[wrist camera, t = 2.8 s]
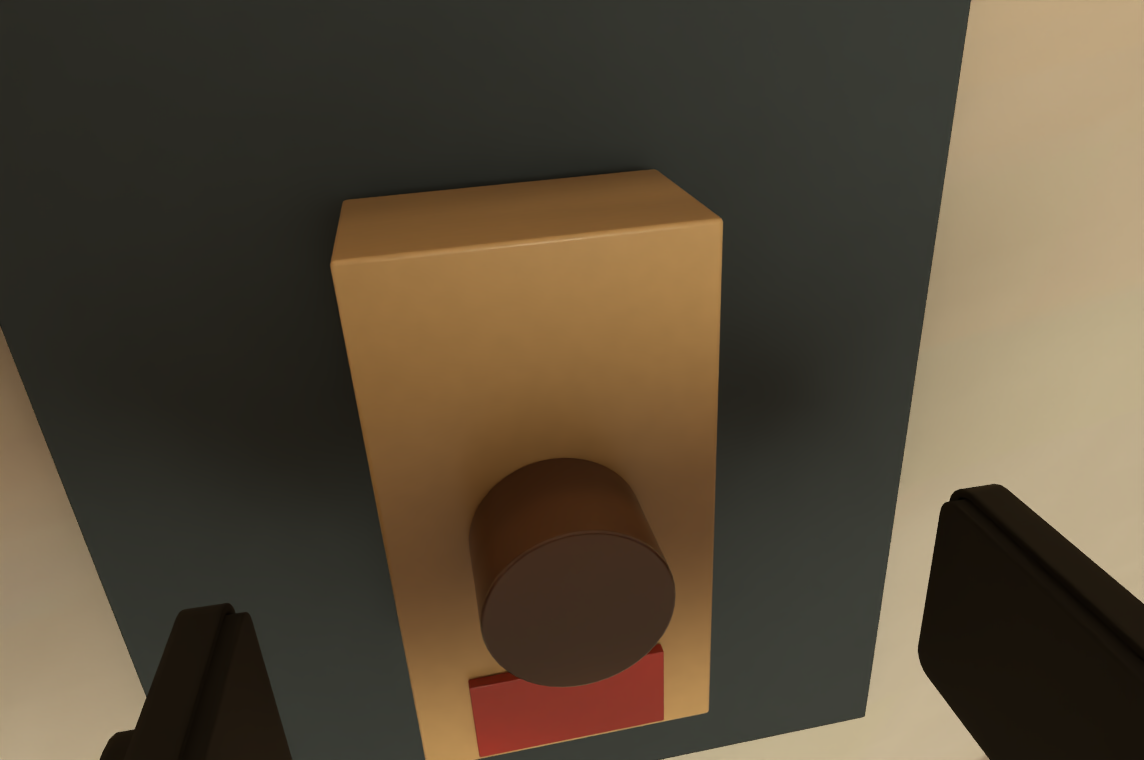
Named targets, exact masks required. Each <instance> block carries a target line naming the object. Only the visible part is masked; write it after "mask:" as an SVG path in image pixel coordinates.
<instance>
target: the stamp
mask: <svg viewBox="0 0 1144 760" xmlns="http://www.w3.org/2000/svg"><path fill="white" fill-rule="evenodd" d="M722 241H723V221H722V218H720V217H719V216H718V215H716V214H715V213H714V212H712V211H711V210H710V209H708V208H707V207H706V206H704V205H703V204H702V203H700V202H699V201H698V200H696V199H695V198H694V197H692V196H691V195H690V194H688V193H687V192H686V191H684V190H683V189H682V188H680V187H679V186H678V185H676V184H675V183H674V182H672V181H671V180H670V179H668V178H667V177H666V176H664V175H663V174H662V173H660V172H659V171H658V170H655V169H650V170H640V171H630V172H620V173H610V174H600V175H590V176H580V177H570V178H560V179H550V180H540V181H530V182H520V183H510V184H500V185H490V186H480V187H470V188H460V189H450V190H440V191H430V192H419V193H409V194H399V195H389V196H379V197H369V198H359V199H349V200H345V201H343V203H342V208H341V213H340V218H339V223H338V228H337V233H336V238H335V243H334V248H333V253H332V258H331V263H330V269H331V274H332V279H333V284H334V289H335V295H336V300H337V305H338V310H339V315H340V320H341V326H342V331H343V336H344V341H345V346H346V352H347V357H348V362H349V367H350V372H351V377H352V383H353V388H354V393H355V398H356V403H357V408H358V414H359V419H360V424H361V429H362V434H363V440H364V445H365V450H366V455H367V460H368V465H369V471H370V476H371V481H372V486H373V491H374V497H375V502H376V507H377V512H378V517H379V522H380V528H381V533H382V538H383V543H384V548H385V553H386V559H387V564H388V569H389V574H390V579H391V585H392V590H393V595H394V600H395V605H396V610H397V616H398V621H399V626H400V631H401V636H402V642H403V647H404V652H405V657H406V662H407V667H408V673H409V678H410V683H411V688H412V693H413V698H414V704H415V709H416V714H417V719H418V724H419V730H420V735H421V740H422V745H423V750H424V755H425V760H476V759H481V758H486V757H491V756H496V755H501V754H506V753H511V752H516V751H520V750H525V749H530V748H535V747H540V746H545V745H550V744H555V743H560V742H565V741H570V740H575V739H580V738H585V737H590V736H595V735H599V734H604V733H609V732H614V731H619V730H624V729H629V728H634V727H639V726H644V725H649V724H654V723H659V722H664V721H669V720H674V719H679V718H683V717H688V716H693V715H698V714H703V713H707V712H708V711H709V685H710V651H711V617H712V583H713V548H714V514H715V480H716V446H717V412H718V377H719V343H720V309H721V275H722Z"/></svg>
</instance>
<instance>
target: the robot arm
mask: <svg viewBox="0 0 1144 760" xmlns="http://www.w3.org/2000/svg"><path fill="white" fill-rule="evenodd" d="M918 654H919V659H920V663H921V666H922V668H923V670H924V672H925V674H926V675H927V677H928V678H929V679H930V681H931V682H932V683H933V685H934V686H935V687H936V689H937V690H938V691H939V693H940V694H941V695H942V697H943V698H944V699H945V701H946V702H947V703H948V705H949V706H950V707H951V709H952V710H953V711H954V713H955V714H956V715H957V717H958V718H959V719H960V721H961V722H962V723H963V725H964V726H965V727H966V729H967V730H968V731H969V733H970V734H971V735H972V737H973V738H974V739H975V741H976V742H977V743H978V745H979V746H980V747H981V749H982V750H983V751H984V753H985V754H986V755H987V757H988V758H989V759H990V760H1144V604H1143V603H1142V602H1141V601H1140V600H1138V599H1137V598H1136V597H1135V596H1134V595H1132V594H1131V593H1130V592H1129V591H1128V590H1127V589H1125V588H1124V587H1123V586H1122V585H1121V584H1119V583H1118V582H1117V581H1116V580H1115V579H1113V578H1112V577H1111V576H1110V575H1109V574H1107V573H1106V572H1105V571H1104V570H1103V569H1102V568H1100V567H1099V566H1098V565H1097V564H1096V563H1094V562H1093V561H1092V560H1091V559H1090V558H1088V557H1087V556H1086V555H1085V554H1084V553H1083V552H1081V551H1080V550H1079V549H1078V548H1077V547H1075V546H1074V545H1073V544H1072V543H1071V542H1069V541H1068V540H1067V539H1066V538H1065V537H1064V536H1062V535H1061V534H1060V533H1059V532H1058V531H1056V530H1055V529H1054V528H1053V527H1052V526H1050V525H1049V524H1048V523H1047V522H1046V521H1044V520H1043V519H1042V518H1041V517H1040V516H1039V515H1037V514H1036V513H1035V512H1034V511H1033V510H1031V509H1030V508H1029V507H1028V506H1027V505H1025V504H1024V503H1023V502H1022V501H1021V500H1020V499H1018V498H1017V497H1016V496H1015V495H1014V494H1012V493H1011V492H1010V491H1009V490H1008V489H1006V488H1005V487H1003V486H1001V485H998V484H991V485H984V486H978V487H972V488H965V489H959V490H957V491H955V492H954V493H953V494H952V495H951V498H950V501H949V502H946V503H944V504H943V506H942V507H941V511H940V516H939V522H938V528H937V534H936V540H935V546H934V553H933V559H932V565H931V571H930V577H929V583H928V589H927V595H926V601H925V608H924V614H923V620H922V626H921V632H920V638H919V644H918ZM100 760H292V757H291V753H290V750H289V746H288V743H287V739H286V736H285V732H284V729H283V725H282V722H281V718H280V715H279V712H278V708H277V705H276V701H275V698H274V694H273V691H272V687H271V684H270V680H269V677H268V673H267V670H266V667H265V663H264V660H263V656H262V653H261V649H260V646H259V642H258V639H257V635H256V632H255V628H254V625H253V621H252V619H251V616H250V614H249V613H248V612H242V613H236V612H235V610H234V608H233V606H232V605H231V604H230V603H223V604H216V605H210V606H203V607H197V608H190V609H184V610H182V611H180V612H179V613H178V615H177V617H176V619H175V622H174V625H173V628H172V630H171V633H170V636H169V638H168V641H167V644H166V646H165V649H164V652H163V655H162V657H161V660H160V663H159V665H158V668H157V671H156V673H155V676H154V679H153V681H152V684H151V687H150V690H149V692H148V695H147V698H146V700H145V703H144V706H143V708H142V711H141V714H140V717H139V719H138V722H137V725H136V727H135V730H129V731H123V732H118V733H116V734H115V735H114V736H112V737H111V738H110V739H109V741H108V743H107V745H106V747H105V749H104V750H103V753H102V755H101V758H100Z"/></svg>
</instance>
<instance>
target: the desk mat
mask: <svg viewBox="0 0 1144 760" xmlns="http://www.w3.org/2000/svg"><path fill="white" fill-rule="evenodd" d="M970 3H971V0H0V326H1V329H2V331H3V334H4V336H5V339H6V341H7V344H8V347H9V349H10V352H11V354H12V357H13V359H14V362H15V364H16V367H17V369H18V372H19V375H20V377H21V380H22V382H23V385H24V387H25V390H26V392H27V395H28V397H29V400H30V402H31V405H32V408H33V410H34V413H35V415H36V418H37V420H38V423H39V425H40V428H41V430H42V433H43V435H44V438H45V441H46V443H47V446H48V448H49V451H50V453H51V456H52V458H53V461H54V463H55V466H56V469H57V471H58V474H59V476H60V479H61V481H62V484H63V486H64V489H65V491H66V494H67V496H68V499H69V502H70V504H71V507H72V509H73V512H74V514H75V517H76V519H77V522H78V524H79V527H80V530H81V532H82V535H83V537H84V540H85V542H86V545H87V547H88V550H89V552H90V555H91V557H92V560H93V563H94V565H95V568H96V570H97V573H98V575H99V578H100V580H101V583H102V585H103V588H104V590H105V593H106V596H107V598H108V601H109V603H110V606H111V608H112V611H113V613H114V616H115V618H116V621H117V624H118V626H119V629H120V631H121V634H122V636H123V639H124V641H125V644H126V646H127V649H128V651H129V654H130V657H131V659H132V662H133V664H134V667H135V669H136V672H137V674H138V677H139V679H140V682H141V685H142V687H143V690H144V692H145V695H146V697H147V695H148V692H149V690H150V687H151V684H152V681H153V679H154V676H155V673H156V671H157V668H158V665H159V663H160V660H161V657H162V655H163V652H164V649H165V646H166V644H167V641H168V638H169V636H170V633H171V630H172V628H173V625H174V622H175V619H176V617H177V615H178V613H179V612H180V611H182V610H184V609H190V608H197V607H203V606H210V605H216V604H223V603H230V604H231V605H232V606H233V608H234V610H235V612H236V613H242V612H248V613H249V614H250V616H251V619H252V621H253V625H254V628H255V632H256V635H257V639H258V642H259V646H260V649H261V653H262V656H263V660H264V663H265V667H266V670H267V673H268V677H269V680H270V684H271V687H272V691H273V694H274V698H275V701H276V705H277V708H278V712H279V715H280V718H281V722H282V725H283V729H284V732H285V736H286V739H287V743H288V746H289V750H290V753H291V757H292V760H425V755H424V750H423V745H422V740H421V735H420V730H419V724H418V719H417V714H416V709H415V704H414V698H413V693H412V688H411V683H410V678H409V673H408V667H407V662H406V657H405V652H404V647H403V642H402V636H401V631H400V626H399V621H398V616H397V610H396V605H395V600H394V595H393V590H392V585H391V579H390V574H389V569H388V564H387V559H386V553H385V548H384V543H383V538H382V533H381V528H380V522H379V517H378V512H377V507H376V502H375V497H374V491H373V486H372V481H371V476H370V471H369V465H368V460H367V455H366V450H365V445H364V440H363V434H362V429H361V424H360V419H359V414H358V408H357V403H356V398H355V393H354V388H353V383H352V377H351V372H350V367H349V362H348V357H347V352H346V346H345V341H344V336H343V331H342V326H341V320H340V315H339V310H338V305H337V300H336V295H335V289H334V284H333V279H332V274H331V269H330V263H331V258H332V253H333V248H334V243H335V238H336V233H337V228H338V223H339V218H340V213H341V208H342V203H343V201H345V200H349V199H359V198H369V197H379V196H389V195H399V194H409V193H419V192H430V191H440V190H450V189H460V188H470V187H480V186H490V185H500V184H510V183H520V182H530V181H540V180H550V179H560V178H570V177H580V176H590V175H600V174H610V173H620V172H630V171H640V170H650V169H655V170H658V171H659V172H660V173H662V174H663V175H664V176H666V177H667V178H668V179H670V180H671V181H672V182H674V183H675V184H676V185H678V186H679V187H680V188H682V189H683V190H684V191H686V192H687V193H688V194H690V195H691V196H692V197H694V198H695V199H696V200H698V201H699V202H700V203H702V204H703V205H704V206H706V207H707V208H708V209H710V210H711V211H712V212H714V213H715V214H716V215H718V216H719V217H720V218H722V221H723V241H722V275H721V309H720V343H719V377H718V412H717V446H716V480H715V514H714V548H713V583H712V617H711V651H710V685H709V711H708V712H707V713H703V714H698V715H693V716H688V717H683V718H679V719H674V720H669V721H664V722H659V723H654V724H649V725H644V726H639V727H634V728H629V729H624V730H619V731H614V732H609V733H604V734H599V735H595V736H590V737H585V738H580V739H575V740H570V741H565V742H560V743H555V744H550V745H545V746H540V747H535V748H530V749H525V750H520V751H516V752H511V753H506V754H501V755H496V756H491V757H486V758H481V759H476V760H661V759H665V758H670V757H675V756H680V755H684V754H689V753H694V752H699V751H704V750H708V749H713V748H718V747H723V746H727V745H732V744H737V743H742V742H747V741H751V740H756V739H761V738H766V737H770V736H775V735H780V734H785V733H790V732H794V731H799V730H804V729H809V728H813V727H818V726H823V725H828V724H833V723H837V722H842V721H847V720H852V719H856V718H861V717H864V716H865V711H866V704H867V697H868V691H869V684H870V677H871V670H872V664H873V657H874V650H875V643H876V637H877V630H878V623H879V616H880V610H881V603H882V596H883V589H884V583H885V576H886V569H887V562H888V556H889V549H890V542H891V535H892V529H893V522H894V515H895V508H896V502H897V495H898V488H899V482H900V475H901V468H902V461H903V455H904V448H905V441H906V434H907V428H908V421H909V414H910V407H911V401H912V394H913V387H914V380H915V374H916V367H917V360H918V353H919V347H920V340H921V333H922V326H923V320H924V313H925V306H926V299H927V293H928V286H929V279H930V272H931V266H932V259H933V252H934V245H935V239H936V232H937V225H938V218H939V212H940V205H941V198H942V191H943V185H944V178H945V171H946V164H947V158H948V151H949V144H950V137H951V131H952V124H953V117H954V110H955V104H956V97H957V90H958V84H959V77H960V70H961V63H962V57H963V50H964V43H965V36H966V30H967V23H968V16H969V9H970Z"/></svg>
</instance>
